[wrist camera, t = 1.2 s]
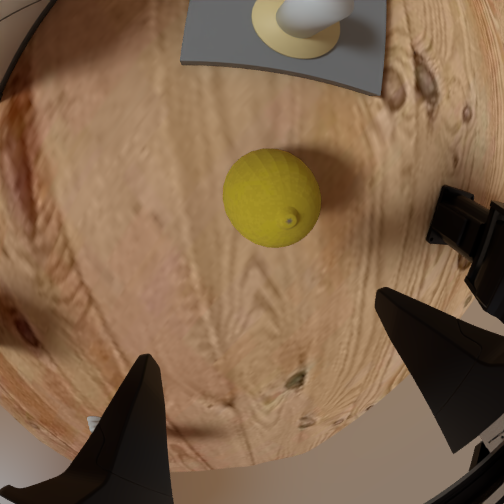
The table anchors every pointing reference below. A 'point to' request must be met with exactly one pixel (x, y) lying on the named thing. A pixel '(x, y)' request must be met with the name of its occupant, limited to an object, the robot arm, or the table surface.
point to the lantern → (18, 30)
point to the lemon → (271, 198)
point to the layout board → (291, 39)
